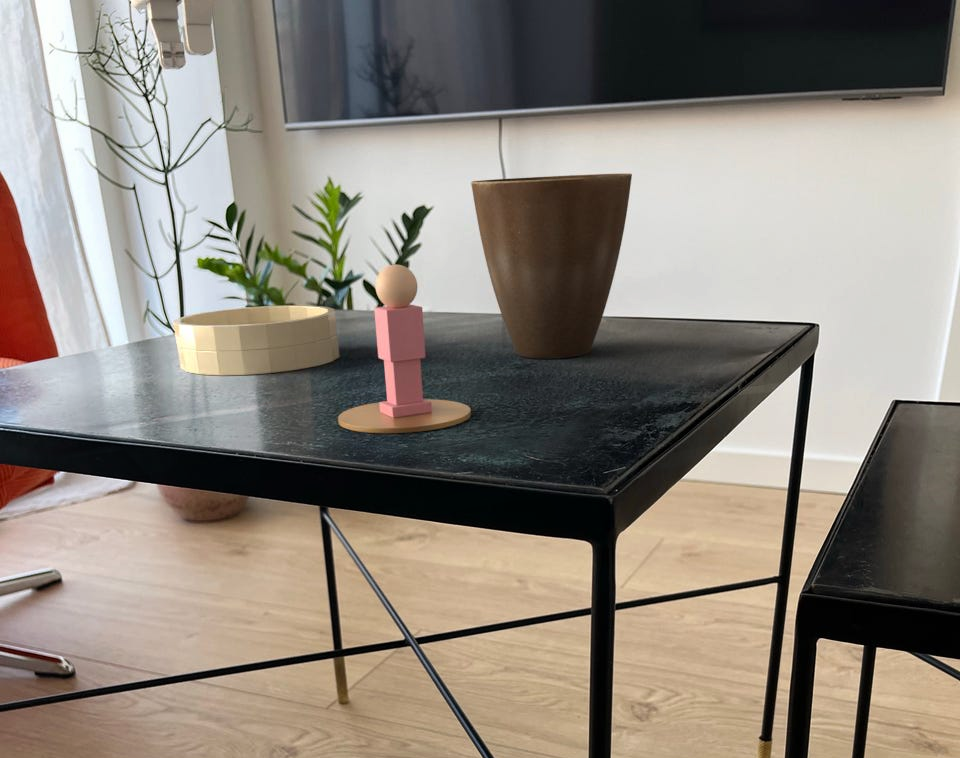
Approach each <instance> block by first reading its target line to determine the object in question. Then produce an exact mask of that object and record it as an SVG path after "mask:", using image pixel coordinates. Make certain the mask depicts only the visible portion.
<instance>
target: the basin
mask: <svg viewBox="0 0 960 758" xmlns="http://www.w3.org/2000/svg"><path fill="white" fill-rule="evenodd" d="M336 319H337V317H336V311H335V309H334V308H332V307H330V306H329V307H328V306H322V305H311V304H310V305H302V304H301V305H298V304H296V305H295V304H285V305H283V304H282V305H262V306H247V307H237V308H236V307H235V308H226V309H218V310H209V311H204V312H199V313H194V314H187V315H184V316H181V317H178V318H175V319H174V321H173V322H172V324H173V329H174V336H175V342H176V348H177V354H178V360H179V367H180V369H181V370H183V372H186V373H190V374H194V375H195V374H196V375H201V376H202V375H203V376H250V375H265V374H266V375H267V374H275V373H283V372H291V371H297V370H298V371H299V370H304V369H309V368H313V367H319V366H323V365H326V364H329V363H332V362H335V360H337V359H339V358H340V348H339V341H338V340H339V339H338V328H337V320H336Z"/></svg>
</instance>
